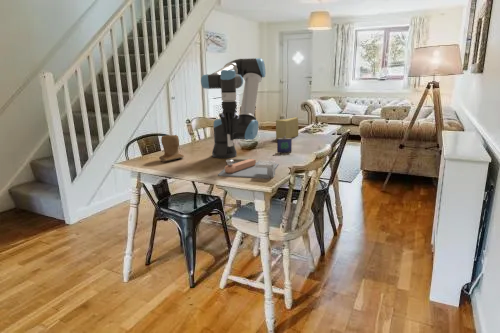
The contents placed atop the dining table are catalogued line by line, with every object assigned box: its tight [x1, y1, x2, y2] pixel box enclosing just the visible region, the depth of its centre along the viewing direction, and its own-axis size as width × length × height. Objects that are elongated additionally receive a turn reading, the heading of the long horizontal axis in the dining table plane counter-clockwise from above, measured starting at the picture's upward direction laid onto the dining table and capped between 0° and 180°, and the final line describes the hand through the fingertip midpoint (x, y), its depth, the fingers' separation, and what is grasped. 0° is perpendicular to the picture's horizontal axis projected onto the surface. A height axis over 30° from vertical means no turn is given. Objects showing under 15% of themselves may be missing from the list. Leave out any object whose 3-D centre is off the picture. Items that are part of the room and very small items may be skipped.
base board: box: [217, 161, 280, 180], centre depth 180 cm, size 26×26×1 cm
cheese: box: [275, 116, 299, 140], centre depth 264 cm, size 22×10×15 cm, turn 137°
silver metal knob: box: [225, 158, 235, 166], centre depth 173 cm, size 4×4×3 cm
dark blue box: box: [276, 136, 293, 154], centre depth 216 cm, size 9×3×11 cm, turn 95°
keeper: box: [255, 159, 276, 178], centre depth 169 cm, size 9×8×6 cm
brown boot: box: [158, 134, 185, 163], centre depth 204 cm, size 15×12×15 cm
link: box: [224, 158, 257, 173], centre depth 179 cm, size 21×5×3 cm, turn 140°
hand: (230, 146), depth 182 cm, fingers closed
